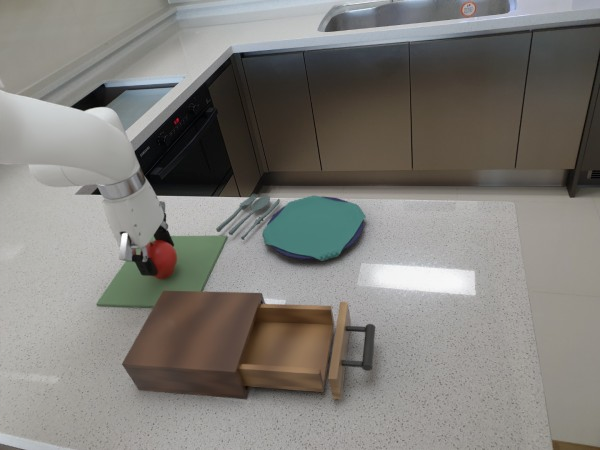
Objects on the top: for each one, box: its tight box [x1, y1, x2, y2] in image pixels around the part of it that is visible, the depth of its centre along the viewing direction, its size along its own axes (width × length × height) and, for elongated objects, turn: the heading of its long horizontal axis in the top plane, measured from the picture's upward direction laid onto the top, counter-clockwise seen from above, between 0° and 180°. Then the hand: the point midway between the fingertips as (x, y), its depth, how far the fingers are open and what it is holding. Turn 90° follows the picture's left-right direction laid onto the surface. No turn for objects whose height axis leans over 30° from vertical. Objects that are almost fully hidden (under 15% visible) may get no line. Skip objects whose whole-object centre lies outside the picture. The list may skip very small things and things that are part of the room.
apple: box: [139, 240, 177, 279], centre depth 87 cm, size 7×7×8 cm
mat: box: [95, 235, 228, 309], centre depth 92 cm, size 20×20×1 cm
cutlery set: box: [215, 193, 367, 262], centre depth 95 cm, size 20×30×2 cm, turn 59°
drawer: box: [238, 301, 376, 400], centre depth 68 cm, size 21×13×5 cm, turn 79°
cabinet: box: [121, 290, 266, 400], centre depth 72 cm, size 18×15×7 cm
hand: (158, 259), depth 88 cm, fingers closed on apple, 7 cm apart
